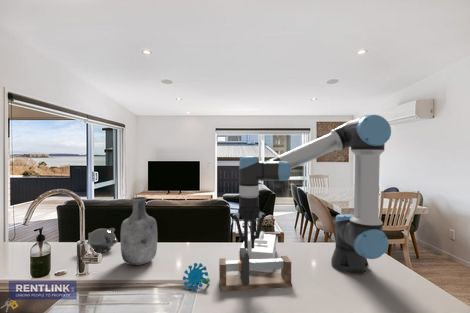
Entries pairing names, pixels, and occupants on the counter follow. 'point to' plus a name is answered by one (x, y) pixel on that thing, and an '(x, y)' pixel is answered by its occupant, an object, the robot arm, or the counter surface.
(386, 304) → the counter surface
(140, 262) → the vase
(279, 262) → the light grey bar
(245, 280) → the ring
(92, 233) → the piggy bank
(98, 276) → the counter surface
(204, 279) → the gear
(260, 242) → the white pegged block
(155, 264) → the counter surface
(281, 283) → the wooden stand
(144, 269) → the counter surface
